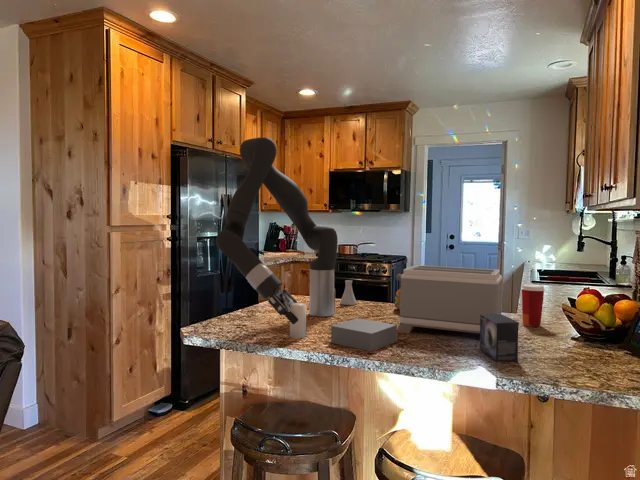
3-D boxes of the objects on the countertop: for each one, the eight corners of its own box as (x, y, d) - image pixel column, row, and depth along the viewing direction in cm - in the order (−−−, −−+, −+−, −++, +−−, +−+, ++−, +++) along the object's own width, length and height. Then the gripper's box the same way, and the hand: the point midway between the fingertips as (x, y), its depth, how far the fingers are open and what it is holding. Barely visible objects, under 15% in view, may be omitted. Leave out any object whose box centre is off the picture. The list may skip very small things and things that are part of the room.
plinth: (357, 333, 150) (357, 318, 150) (396, 341, 141) (396, 324, 141) (330, 342, 139) (331, 325, 139) (371, 351, 130) (371, 333, 130)
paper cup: (546, 325, 166) (548, 285, 165) (539, 328, 160) (540, 287, 160) (523, 321, 171) (525, 283, 171) (515, 325, 166) (517, 285, 165)
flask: (355, 306, 198) (356, 282, 197) (338, 305, 199) (338, 281, 199) (357, 303, 205) (358, 280, 204) (341, 302, 206) (341, 279, 206)
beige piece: (296, 333, 149) (297, 302, 149) (309, 336, 146) (309, 304, 145) (286, 336, 145) (286, 304, 145) (298, 339, 142) (299, 306, 142)
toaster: (402, 319, 172) (403, 264, 171) (503, 330, 158) (505, 269, 157) (387, 331, 155) (388, 269, 154) (498, 344, 140) (500, 275, 139)
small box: (477, 350, 133) (478, 313, 132) (500, 350, 133) (501, 313, 133) (494, 362, 122) (495, 322, 122) (518, 361, 123) (520, 321, 122)
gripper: (265, 275, 139) (303, 315, 138) (278, 270, 153) (312, 307, 152) (248, 292, 140) (285, 333, 139) (262, 285, 154) (296, 322, 153)
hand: (299, 319), depth 145 cm, fingers open, 8 cm apart
